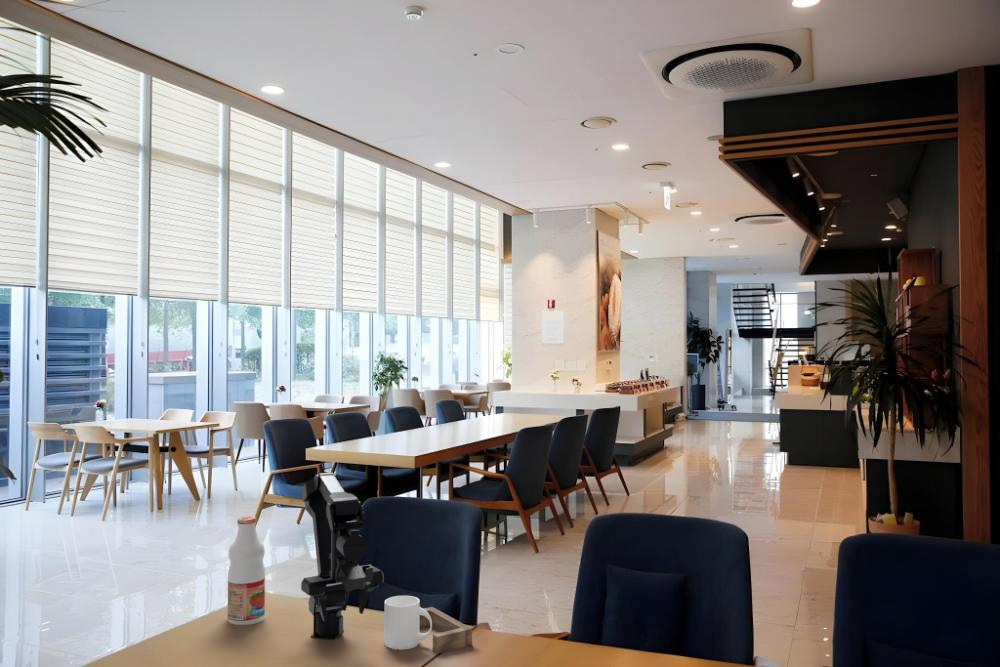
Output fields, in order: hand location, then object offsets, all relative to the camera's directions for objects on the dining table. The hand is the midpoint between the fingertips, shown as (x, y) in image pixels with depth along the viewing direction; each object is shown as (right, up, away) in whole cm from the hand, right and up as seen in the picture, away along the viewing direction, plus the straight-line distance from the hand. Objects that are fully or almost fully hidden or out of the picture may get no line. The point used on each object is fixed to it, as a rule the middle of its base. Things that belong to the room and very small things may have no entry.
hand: (342, 617), depth 183 cm
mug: (+15, -10, +8) cm, 19 cm away
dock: (+20, -10, +14) cm, 27 cm away
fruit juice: (-30, -10, +23) cm, 39 cm away
